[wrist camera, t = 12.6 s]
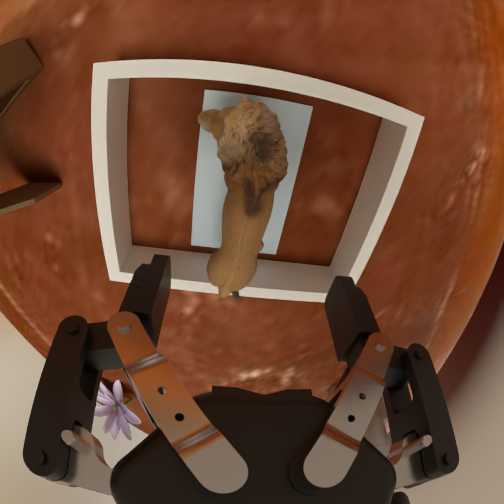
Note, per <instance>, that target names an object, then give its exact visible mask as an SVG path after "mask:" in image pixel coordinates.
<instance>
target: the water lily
mask: <svg viewBox="0 0 504 504" xmlns="http://www.w3.org/2000/svg"><path fill="white" fill-rule="evenodd" d="M100 388H101V389H100ZM100 388H99V391H98V396H97V401H99V402H101V403H104V404H107V405H108V406H105V405H103V406H99V407H96V408H95V412H94V416H98V417H101V416H106V415H107V416H108V415H109V414H110V415H109V417H108V418H107V419H106V421H105V424H104V433H107V432H109V431H111V435H112V437H113V439H114V440H115V439H116V438H117V436H118V433H119V430H120V427H121V429H122V431H123V433H124V435H125V436H126V437H127V438H128V439H129V440H132V439H131V432H130V429H129V425H128V423H127V421H126V419H127V420H128V421H130V422H131V423H133V424H140V423H141V420H140V419H139V418H138V417H137V416H136V415H135V414H134V413H133V412H132V411H131V410H129V409H128V408H127V406H126V405H127V404H128V403H130V402H131V401H132V400H133V399H132V398H130V399H129V400H128V401H126V402H125V403H122V401H123V391H122V386H121V383H120V381H119V380H116V381H115V383H114V385H113V393H114V397H115V398H114V397H113V395H112V393H111V392H110V391H109V390H108V388H107V387H106V386H105V385H104V384H103V383H102V382H101V381H100ZM113 411H114V412H113ZM112 412H113V413H112ZM124 416H125V417H126V419H125V417H124Z"/></svg>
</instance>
